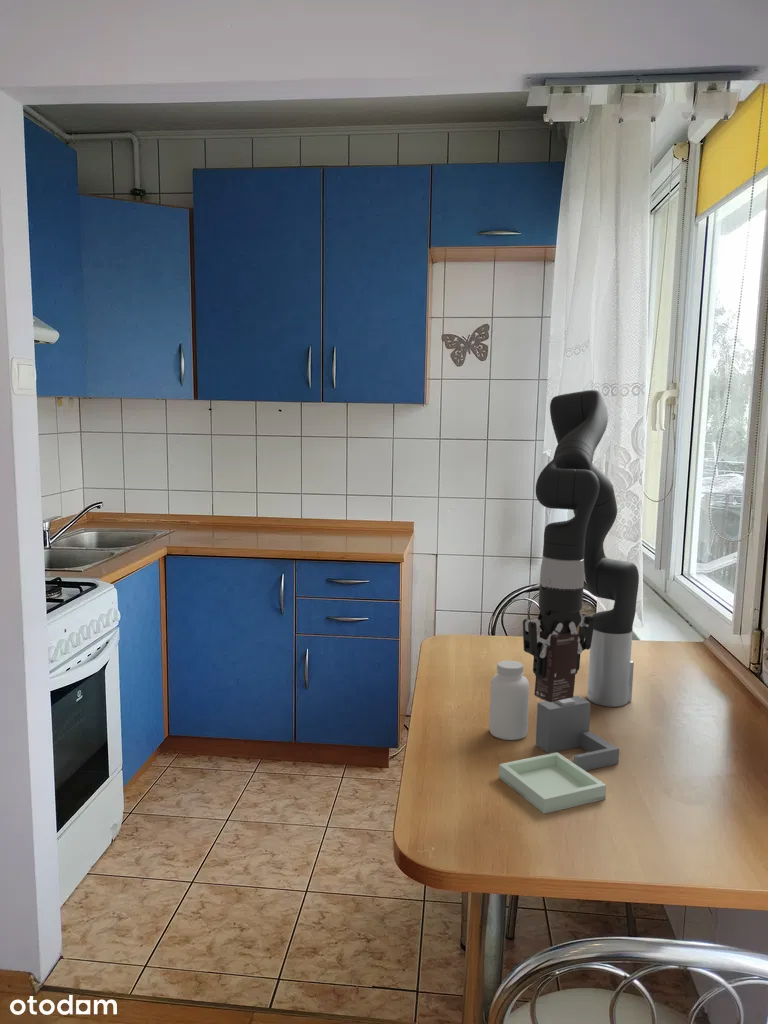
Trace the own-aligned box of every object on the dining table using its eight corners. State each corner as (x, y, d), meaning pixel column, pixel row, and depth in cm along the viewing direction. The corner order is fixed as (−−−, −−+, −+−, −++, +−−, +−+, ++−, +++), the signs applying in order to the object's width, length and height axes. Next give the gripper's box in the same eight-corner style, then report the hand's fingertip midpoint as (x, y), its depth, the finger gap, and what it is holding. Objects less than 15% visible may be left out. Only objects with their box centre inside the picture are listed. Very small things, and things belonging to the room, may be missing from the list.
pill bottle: (481, 728, 167) (484, 660, 165) (514, 723, 170) (516, 656, 168) (501, 743, 160) (504, 672, 157) (535, 737, 163) (538, 667, 161)
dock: (575, 737, 163) (578, 692, 162) (618, 763, 152) (621, 715, 150) (535, 744, 159) (537, 699, 158) (576, 772, 147) (578, 723, 146)
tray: (556, 765, 150) (557, 752, 150) (605, 799, 138) (606, 785, 137) (498, 777, 145) (499, 764, 145) (543, 813, 133) (544, 799, 132)
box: (551, 704, 137) (555, 636, 135) (533, 696, 141) (537, 630, 139) (576, 698, 140) (580, 632, 139) (557, 690, 144) (561, 626, 142)
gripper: (581, 576, 144) (575, 664, 146) (514, 580, 138) (509, 672, 140) (608, 584, 137) (602, 677, 139) (539, 589, 131) (534, 686, 133)
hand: (555, 674), depth 140 cm, fingers closed on box, 6 cm apart
